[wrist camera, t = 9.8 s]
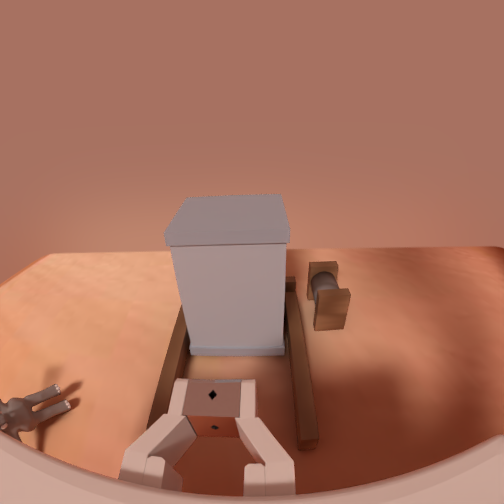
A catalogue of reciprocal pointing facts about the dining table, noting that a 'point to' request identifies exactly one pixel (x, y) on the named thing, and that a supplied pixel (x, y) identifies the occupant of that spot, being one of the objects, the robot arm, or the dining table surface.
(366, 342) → the dining table surface
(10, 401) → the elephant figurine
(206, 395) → the robot arm
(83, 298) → the dining table surface
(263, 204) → the gray rectangular block
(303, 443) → the bay
